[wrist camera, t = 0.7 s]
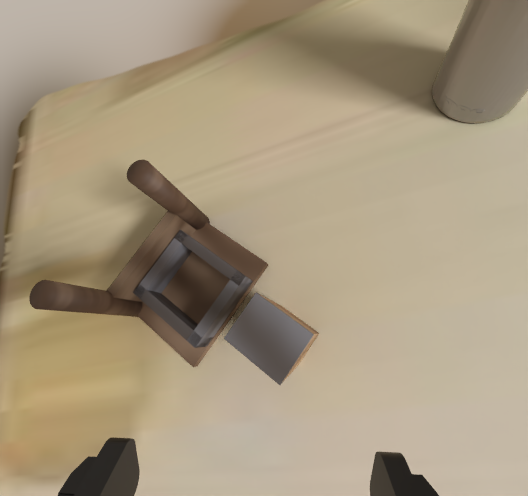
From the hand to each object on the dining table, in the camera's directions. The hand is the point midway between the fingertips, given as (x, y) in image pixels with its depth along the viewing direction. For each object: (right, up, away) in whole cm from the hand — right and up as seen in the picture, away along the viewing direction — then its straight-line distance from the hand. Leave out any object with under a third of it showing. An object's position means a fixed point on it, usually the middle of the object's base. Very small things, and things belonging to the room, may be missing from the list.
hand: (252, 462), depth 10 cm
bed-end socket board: (-8, +3, +26) cm, 27 cm away
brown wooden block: (+3, -2, +22) cm, 22 cm away
